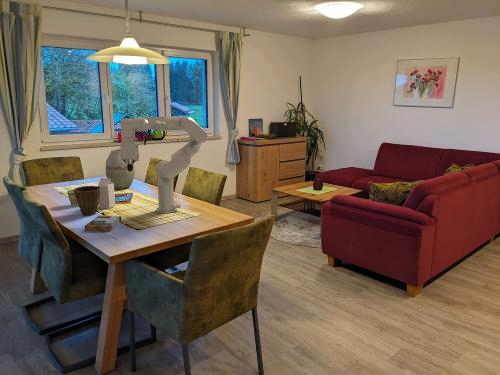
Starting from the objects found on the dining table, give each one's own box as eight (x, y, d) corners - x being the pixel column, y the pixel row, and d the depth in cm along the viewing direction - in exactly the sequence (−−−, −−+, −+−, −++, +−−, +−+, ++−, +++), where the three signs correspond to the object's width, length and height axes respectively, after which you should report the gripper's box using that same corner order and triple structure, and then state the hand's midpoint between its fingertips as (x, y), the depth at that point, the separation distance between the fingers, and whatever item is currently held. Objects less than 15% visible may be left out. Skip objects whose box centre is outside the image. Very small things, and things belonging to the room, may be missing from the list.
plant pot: (107, 213, 241) (105, 188, 238) (83, 219, 231) (80, 192, 227) (95, 209, 251) (93, 184, 248) (71, 214, 240) (69, 188, 237)
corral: (121, 221, 227) (121, 216, 227) (109, 231, 210) (109, 226, 209) (98, 220, 228) (98, 215, 227) (84, 231, 210) (84, 225, 210)
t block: (119, 222, 224) (119, 216, 224) (112, 229, 213) (111, 222, 212) (98, 222, 225) (98, 215, 224) (90, 229, 213) (89, 222, 212)
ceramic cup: (71, 208, 252) (69, 193, 250) (66, 205, 260) (65, 190, 257) (91, 205, 260) (90, 190, 258) (87, 202, 268) (85, 187, 265)
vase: (109, 185, 318) (106, 148, 311) (136, 184, 321) (134, 147, 314) (104, 191, 297) (101, 152, 290) (134, 190, 301) (131, 151, 294)
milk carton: (109, 208, 252) (107, 179, 248) (99, 208, 254) (97, 179, 249) (115, 205, 259) (113, 177, 255) (105, 205, 260) (103, 177, 256)
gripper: (143, 139, 233) (144, 170, 237) (118, 139, 234) (120, 169, 238) (139, 140, 226) (141, 172, 230) (113, 140, 226) (115, 172, 231)
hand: (130, 170), depth 234 cm, fingers closed
